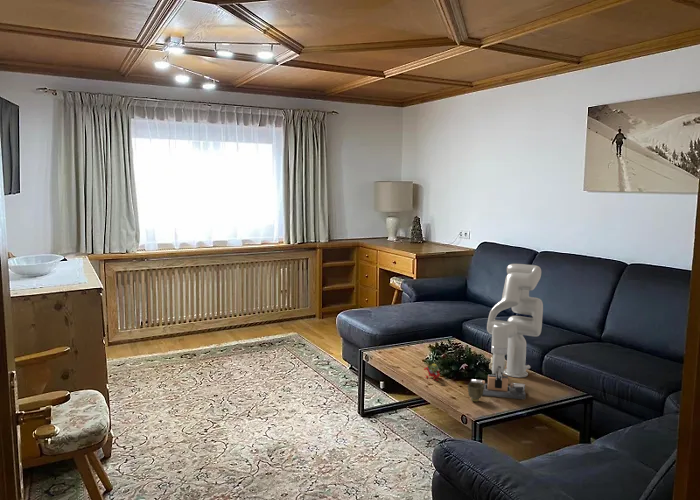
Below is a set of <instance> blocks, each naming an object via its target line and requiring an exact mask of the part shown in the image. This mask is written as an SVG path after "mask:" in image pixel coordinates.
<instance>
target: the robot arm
mask: <svg viewBox="0 0 700 500" xmlns="http://www.w3.org/2000/svg"><path fill="white" fill-rule="evenodd" d="M506 274H507V275H506V276H505V280H504V285H503V290H502V294H501V295H502V296H501V300H499V301H498V302H497V303H496V304H495V305H494V306H493V307H492V308H491V310H490V311H489V314H488V318H487V323H486V332H488V334H489V335H491V345H490V346H491V348H490V350H491V351H490V352H491V354H492V357H493V362H492V370H491V374H492V373H493V374H494V375H496V379H495V388H502V375H503V376H504V375H505V376H509V377H511V378H526V377H528V375H529V373H528V371H527V370H529V369H531V365H529V364H526V362H527V361H526V360H527V359H526V357H527V340H526V339H525V337H524V336H528V337H539V336H540V335H541V333H542V330H543V329H542V327H543V315H544V314H543V313H544V303H543V300H542V299H541V298H538V297H535V296H534V297H533V296H530V291H534V289H536V287H537V285H538V283H539V281H540V280H541V276H542V269H541V267H540V266H538V265H535V264H524V263H510V264H508V265H507V266H506ZM510 308H511V311H512V312H513V313H515V314H521V315H528V316H531V317H527V316H521V315H511V316H509V317H508V319H507V321H506V320H500V319H496V318H497V315H498V314H499V313H500V312H502V311H504V310H507V309H510ZM505 356H506V357H505ZM504 360H505V361H506V368H505V370H504Z"/></svg>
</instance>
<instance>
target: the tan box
mask: <svg viewBox="0 0 700 500" xmlns="http://www.w3.org/2000/svg"><path fill="white" fill-rule="evenodd" d="M508 378H509V377H508V375H503V376H502V388H495V379H496V375H492V374H488V375H487V384H488V388H487V389H490V390H500V391H507V390H508V386H509V379H508Z"/></svg>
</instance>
